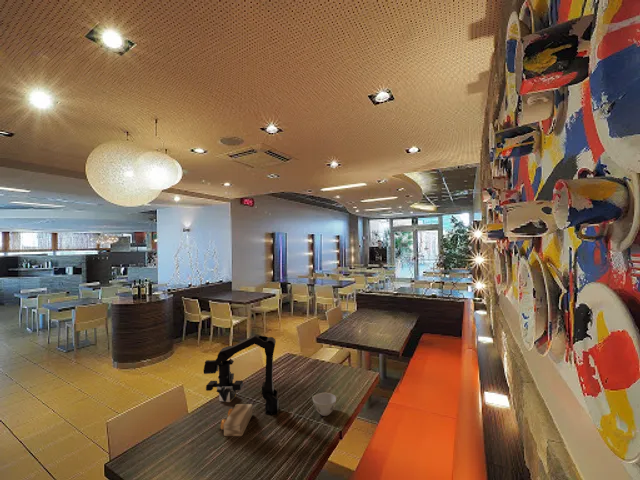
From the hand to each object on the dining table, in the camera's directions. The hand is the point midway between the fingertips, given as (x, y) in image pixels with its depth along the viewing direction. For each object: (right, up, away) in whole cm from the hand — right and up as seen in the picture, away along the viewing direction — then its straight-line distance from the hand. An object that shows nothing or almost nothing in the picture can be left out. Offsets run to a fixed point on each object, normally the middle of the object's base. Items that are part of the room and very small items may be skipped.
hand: (225, 401), depth 153 cm
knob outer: (+8, -6, -13) cm, 17 cm away
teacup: (+53, -6, +1) cm, 54 cm away
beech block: (+10, -7, -9) cm, 15 cm away
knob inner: (+9, -6, -4) cm, 11 cm away
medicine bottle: (-4, -8, +16) cm, 18 cm away
